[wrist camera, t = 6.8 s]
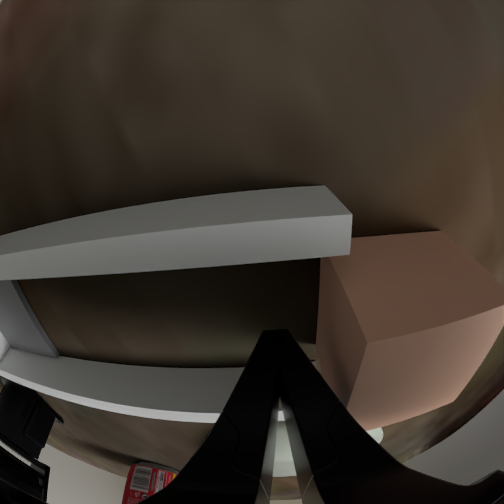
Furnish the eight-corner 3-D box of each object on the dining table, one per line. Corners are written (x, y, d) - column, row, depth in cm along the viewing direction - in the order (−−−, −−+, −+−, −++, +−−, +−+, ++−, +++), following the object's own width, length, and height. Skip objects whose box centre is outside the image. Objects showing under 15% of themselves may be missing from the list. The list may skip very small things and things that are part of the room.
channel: (12, 352, 13) (-2, 375, 11) (-44, 249, 9) (-66, 268, 7) (315, 373, 12) (322, 416, 10) (324, 185, 8) (352, 214, 6)
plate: (227, 470, 21) (226, 477, 20) (189, 417, 14) (187, 430, 14) (359, 456, 20) (361, 464, 20) (403, 393, 14) (408, 404, 13)
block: (315, 345, 11) (334, 437, 7) (320, 240, 9) (367, 342, 5) (414, 327, 11) (453, 401, 7) (441, 230, 8) (515, 300, 4)
